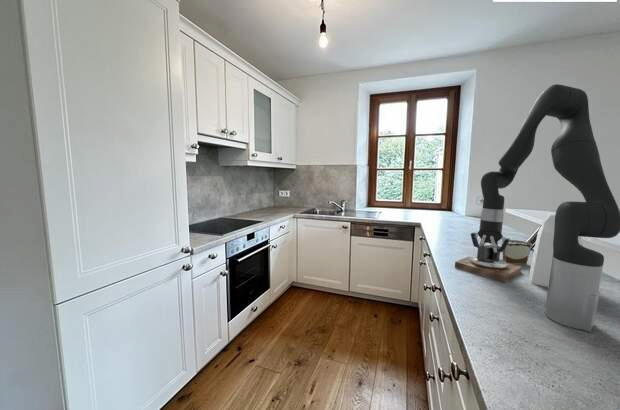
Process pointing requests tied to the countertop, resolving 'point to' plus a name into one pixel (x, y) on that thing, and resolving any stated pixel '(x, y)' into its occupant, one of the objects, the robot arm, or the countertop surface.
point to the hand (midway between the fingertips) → (487, 258)
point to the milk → (544, 253)
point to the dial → (487, 258)
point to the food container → (517, 252)
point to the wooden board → (489, 270)
